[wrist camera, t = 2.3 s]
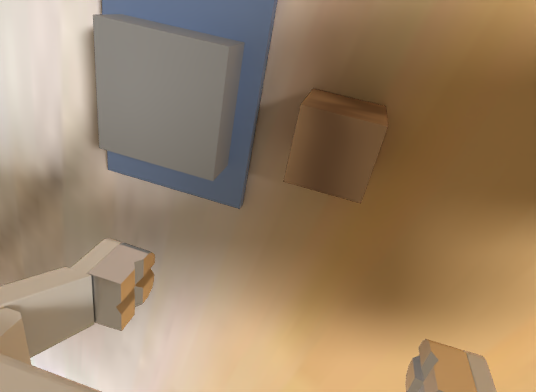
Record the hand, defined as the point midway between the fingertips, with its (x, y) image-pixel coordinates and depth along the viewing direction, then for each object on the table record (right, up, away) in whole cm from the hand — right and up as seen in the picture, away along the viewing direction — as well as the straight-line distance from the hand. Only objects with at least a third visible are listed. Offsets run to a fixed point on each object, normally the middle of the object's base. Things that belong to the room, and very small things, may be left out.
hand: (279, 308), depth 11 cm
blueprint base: (-7, +11, +17) cm, 21 cm away
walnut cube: (+5, +8, +15) cm, 18 cm away
